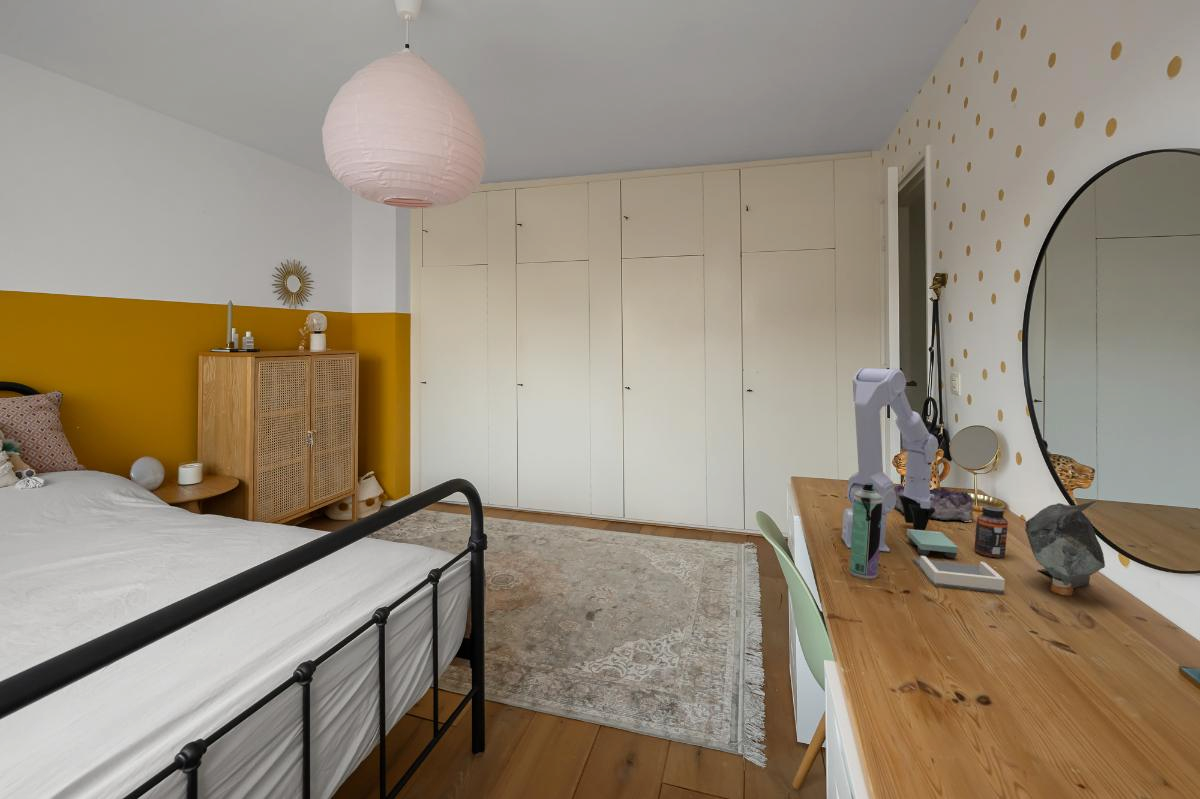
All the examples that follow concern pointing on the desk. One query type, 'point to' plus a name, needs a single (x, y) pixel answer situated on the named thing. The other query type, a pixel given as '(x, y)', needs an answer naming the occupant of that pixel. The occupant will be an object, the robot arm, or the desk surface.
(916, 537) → the mint green block
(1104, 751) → the desk surface
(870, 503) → the spray can
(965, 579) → the tray
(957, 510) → the geode
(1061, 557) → the faceted stone sculpture
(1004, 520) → the supplement bottle
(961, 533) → the desk surface
